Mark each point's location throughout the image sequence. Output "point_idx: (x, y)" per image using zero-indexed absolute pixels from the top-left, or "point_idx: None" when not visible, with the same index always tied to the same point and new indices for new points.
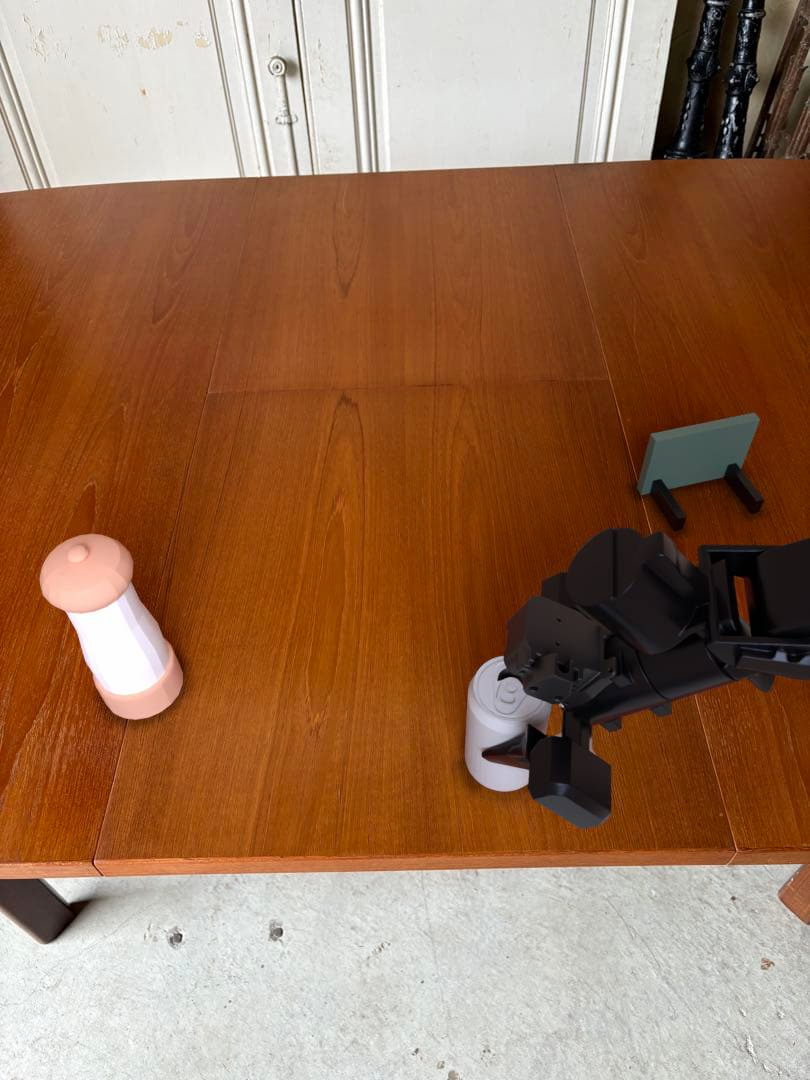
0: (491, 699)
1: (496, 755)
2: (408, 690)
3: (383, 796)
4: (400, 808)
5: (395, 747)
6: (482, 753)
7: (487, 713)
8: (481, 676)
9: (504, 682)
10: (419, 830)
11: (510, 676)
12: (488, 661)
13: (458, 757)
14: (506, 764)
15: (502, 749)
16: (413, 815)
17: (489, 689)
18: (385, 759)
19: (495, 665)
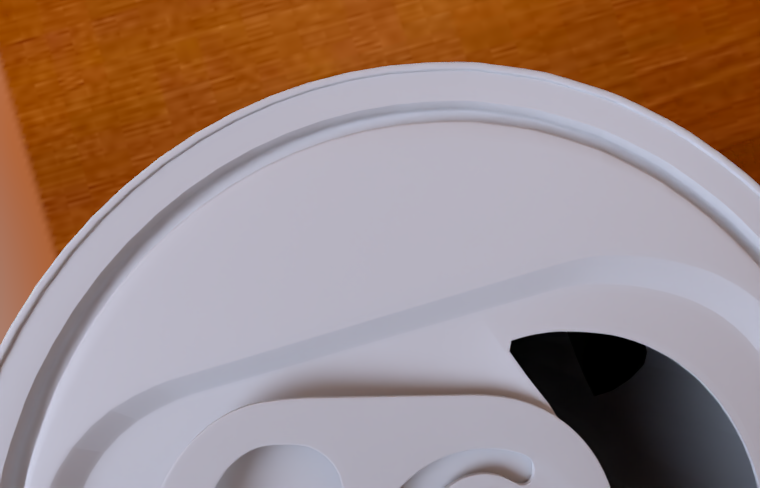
0: (225, 338)
1: None
2: (499, 22)
3: (158, 45)
4: (136, 99)
5: (313, 35)
6: None
7: (13, 339)
8: (507, 139)
9: (514, 435)
10: (86, 168)
11: (634, 357)
12: (731, 169)
13: None
14: None
15: None
16: (126, 140)
17: (355, 278)
18: (269, 19)
19: (707, 264)
